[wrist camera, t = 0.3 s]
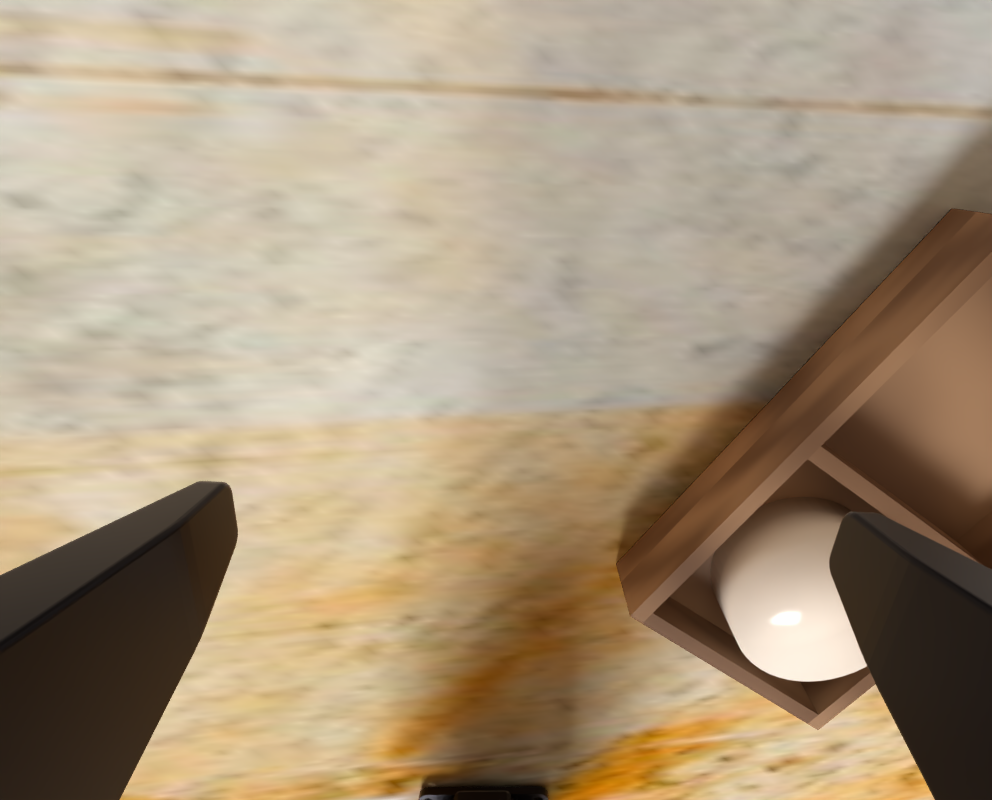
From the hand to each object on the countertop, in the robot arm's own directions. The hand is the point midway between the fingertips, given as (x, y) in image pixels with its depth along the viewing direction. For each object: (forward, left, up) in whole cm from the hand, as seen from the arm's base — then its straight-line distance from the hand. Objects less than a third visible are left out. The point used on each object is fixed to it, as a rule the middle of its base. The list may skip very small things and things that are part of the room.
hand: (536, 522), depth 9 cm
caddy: (-7, -13, -14) cm, 21 cm away
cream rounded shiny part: (-11, -11, -13) cm, 20 cm away
